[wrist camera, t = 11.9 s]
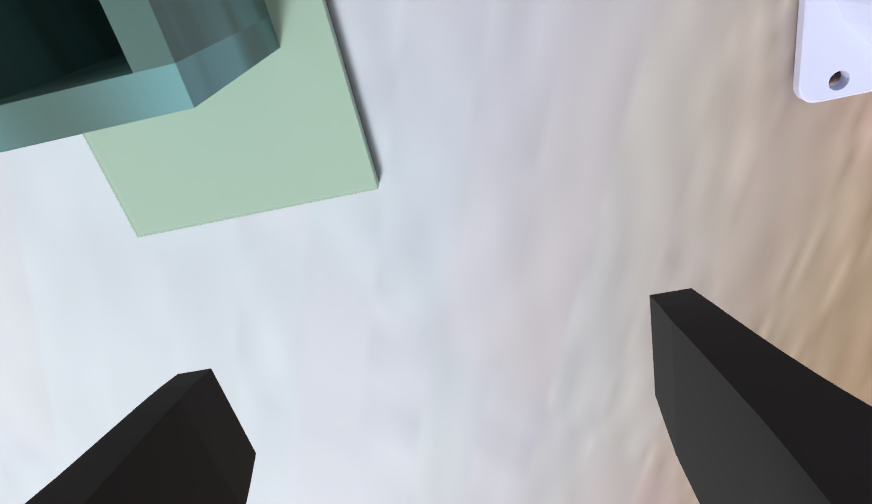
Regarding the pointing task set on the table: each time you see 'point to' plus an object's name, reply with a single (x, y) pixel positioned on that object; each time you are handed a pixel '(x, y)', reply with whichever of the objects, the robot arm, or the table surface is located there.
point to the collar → (119, 61)
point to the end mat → (247, 137)
